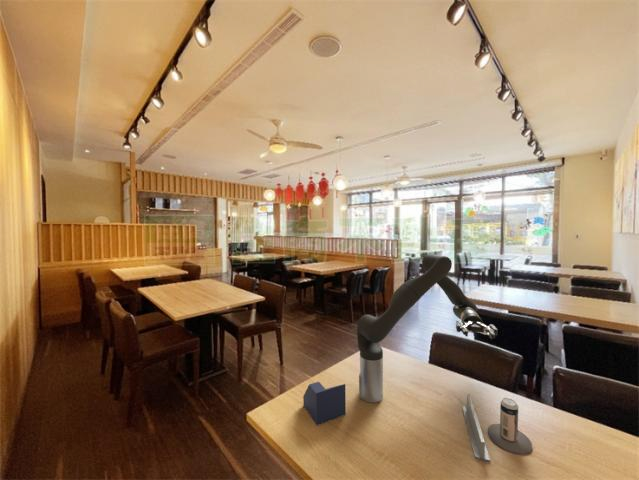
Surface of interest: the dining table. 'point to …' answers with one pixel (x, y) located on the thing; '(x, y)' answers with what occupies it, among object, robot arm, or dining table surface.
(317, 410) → the phone stand
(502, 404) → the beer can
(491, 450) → the dining table surface
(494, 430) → the coaster
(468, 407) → the low wall
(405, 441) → the dining table surface
